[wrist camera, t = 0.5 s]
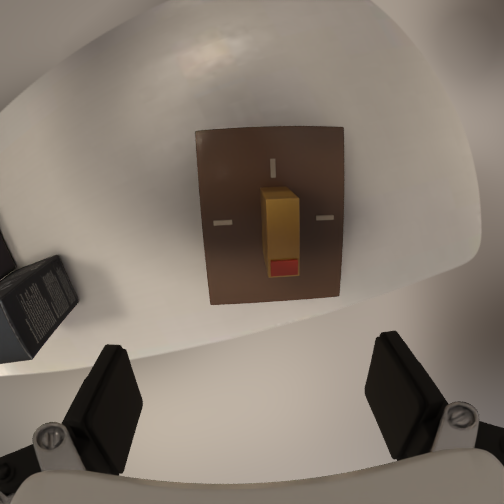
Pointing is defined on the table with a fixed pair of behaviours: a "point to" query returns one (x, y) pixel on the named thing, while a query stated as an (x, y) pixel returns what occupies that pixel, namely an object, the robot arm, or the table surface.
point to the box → (33, 308)
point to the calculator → (5, 260)
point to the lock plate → (249, 209)
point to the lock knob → (280, 231)
